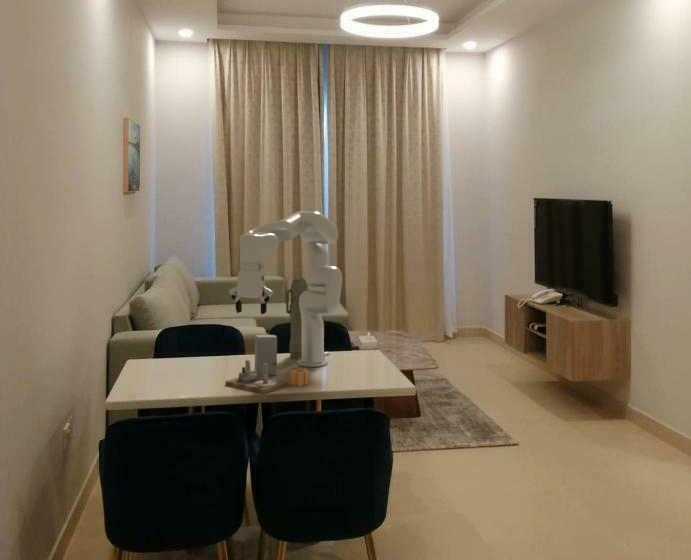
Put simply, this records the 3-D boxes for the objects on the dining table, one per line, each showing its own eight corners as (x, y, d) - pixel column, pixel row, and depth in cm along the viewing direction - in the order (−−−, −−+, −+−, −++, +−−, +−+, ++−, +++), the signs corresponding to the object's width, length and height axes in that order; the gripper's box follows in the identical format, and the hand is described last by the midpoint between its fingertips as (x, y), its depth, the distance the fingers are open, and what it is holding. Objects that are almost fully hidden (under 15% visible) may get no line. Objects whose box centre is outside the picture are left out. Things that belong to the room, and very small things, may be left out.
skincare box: (256, 377, 273) (256, 337, 271) (254, 372, 280) (253, 334, 278) (278, 375, 275) (277, 336, 273) (275, 371, 282) (274, 333, 280)
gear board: (225, 384, 261) (225, 361, 260) (249, 377, 271) (249, 355, 270) (264, 393, 249) (264, 369, 248) (288, 386, 260) (287, 362, 259)
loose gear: (298, 379, 268) (298, 367, 268) (312, 382, 264) (312, 370, 264) (285, 383, 263) (285, 371, 262) (300, 386, 258) (300, 373, 258)
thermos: (315, 357, 307) (315, 279, 303) (290, 360, 302) (289, 280, 298) (309, 353, 315) (308, 277, 311) (284, 355, 310) (283, 278, 306)
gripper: (276, 267, 256) (276, 312, 258) (233, 265, 261) (234, 310, 263) (268, 268, 249) (269, 315, 251) (224, 267, 254) (225, 313, 255)
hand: (251, 313), depth 257 cm, fingers open, 9 cm apart
